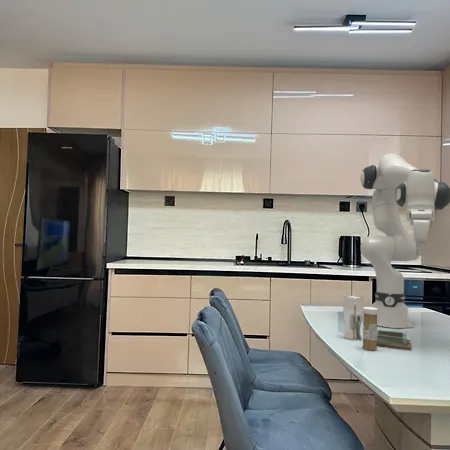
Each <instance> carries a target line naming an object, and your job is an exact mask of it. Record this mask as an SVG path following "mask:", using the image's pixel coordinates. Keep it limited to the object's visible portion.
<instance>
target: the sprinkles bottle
mask: <svg viewBox="0 0 450 450" xmlns="http://www.w3.org/2000/svg"><path fill="white" fill-rule="evenodd" d="M377 314H378V309H377V308H373V307H372V306H363V328H362V329H363V330H362V349H363V350H366V351H377V349H378V347H377V330H378V326H377Z"/></svg>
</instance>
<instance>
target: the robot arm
mask: <svg viewBox="0 0 450 450" xmlns="http://www.w3.org/2000/svg"><path fill="white" fill-rule="evenodd" d="M360 183H361V186H362V187H363V189H366V190H374V191H373V193H372V199H371V203H372V204H371V206H372V207H371V208H372V217H373V224H374V226H375V229H377V230H378V231H379V232H381V233H383V234H385V235H369V236H366V237H364V238H363V239H362V241H361V244H360V252H361V255H362V256H363V258H364V259H366V260H367V261H368V262H369V263H370V264H371V266H372V267H373V270H374V272H375V277H376V278H375V279H376V291H375V294H374V295H375V302H373V303H372V304H371V307H373V308H377V309H378V314H377V325H378V326H377V327H382V326H383V328H389V329H390V328H393V329H405V328H414V325H413V324H412V323H411V322H409V307H408V306H407V304H406V303H405V302H406V295H405V292H404V291H405V278H404V277H405V276H404V275H403V274H402V272H401V271H399V270H398V269H395V268H394V267H393V266H392V263H391V262H410V261H416V260H417V259H419V258H420V257H422V256H424V253H425V252H424V251H425V249H424V248H425V243H426V242H427V241H428V238H429V234H430V226H431V222H433V221H435V213H436V212H435V211H436V210H437V211H441V210H443V209H445V208H446V207H447V206H449V204H450V187H449V185H448V184H447V183H445V182H444V181H438V180H437V179H435V176H434V171H432V170H431V169H420V168H417V167H415V166H413V165H412V164H410V163H408V161H406V160H405V159H404V158H403V157H402V156H401V155H399V154H397V153H393V152H391V153H386V154H384V155H383V156H382V157H381V158H380V159H379V161H378V164H377V165H374V164H371V165H370V166H366V167H365V168H363V169H362V170H361V173H360ZM399 207H400V208H404V209H406V212H405V213H406V221H409V224H410V226H412V227H413V235H411V234H410V232H408V231H407V230H406V228H405V227H404V225H403V223H402V221H401V216H400V212H399V211H400V210H399Z"/></svg>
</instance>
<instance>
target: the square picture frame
mask: <svg viewBox="0 0 450 450" xmlns="http://www.w3.org/2000/svg"><path fill="white" fill-rule="evenodd" d="M407 335H408V334H407V332H401V331H393V330H392V331H390V330H381V329H377V346H379V347H378V348H385V347H387V348H388V349H395V350H396V349H397V350H403V351H404V350H405V351H412V344H411V343H412V342H411V339H408V338H407ZM377 346H376V347H377ZM387 348H386V349H387Z"/></svg>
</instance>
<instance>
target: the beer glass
mask: <svg viewBox="0 0 450 450" xmlns="http://www.w3.org/2000/svg"><path fill="white" fill-rule="evenodd" d="M363 298H364V297H362V296H357V295H356V296H354V295H344V297H343V307H342V308H343V309H342V311H343V319H344V333H343V338H344V339H346V340H352V341H361V340H362V334H361V325H362V320H363V317H364V313H363V308H364V301H363Z"/></svg>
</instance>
